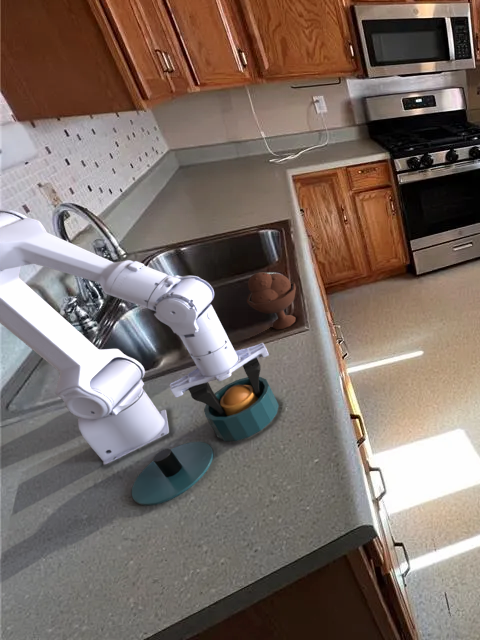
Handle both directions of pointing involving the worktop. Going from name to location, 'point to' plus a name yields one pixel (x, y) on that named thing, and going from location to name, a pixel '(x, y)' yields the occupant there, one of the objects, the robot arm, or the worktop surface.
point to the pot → (244, 413)
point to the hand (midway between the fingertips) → (239, 401)
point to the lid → (172, 473)
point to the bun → (238, 399)
